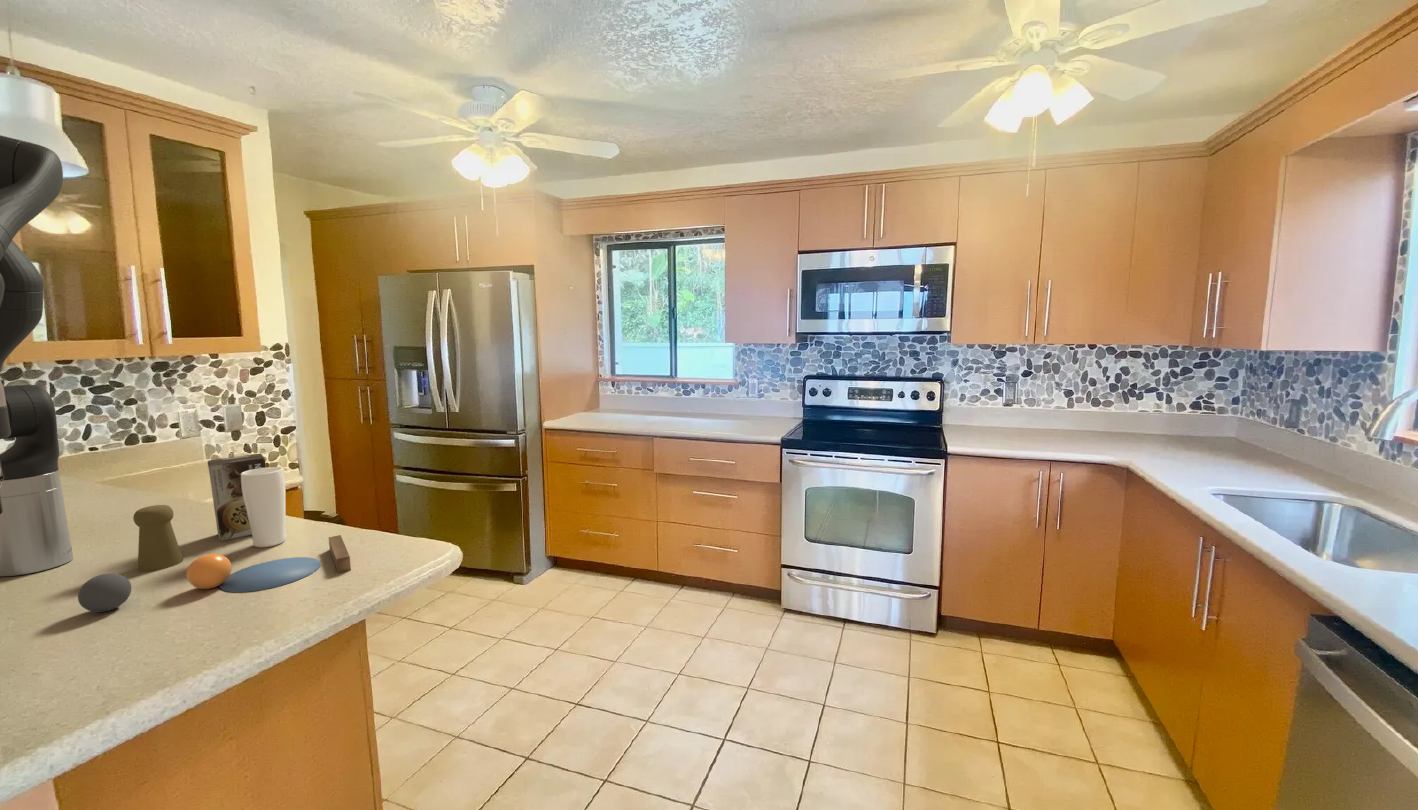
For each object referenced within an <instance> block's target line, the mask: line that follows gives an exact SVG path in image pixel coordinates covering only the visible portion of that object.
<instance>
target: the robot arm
mask: <svg viewBox="0 0 1418 810" xmlns="http://www.w3.org/2000/svg"><path fill="white" fill-rule="evenodd" d="M63 171H64V170H63V165H62V161H61V158H60V157H59V156H58V154H57V153H56V152H55V151H54V150H52V149H50V148H48V147H46V146H44V145H40V144H37V143H33V142H29V141H26V140H21V139H18V138H13V137H10V136H5V135H1V134H0V370H1V368H2V366H3V364H4V363H5V361H6V359H7V358H8V357H9V356H10V355H11V354H12V352H13V351H14V350H15V349H16V348H17V347H18V346H19V345H21V343H22V342H23V341H24V340H25V339H26V338H27V337H28V336H30V334H31V333H32V332H33V331H34V330H35V329H36V327H37V326H38V325H39V323H40V322H41V321H42V320H41V319H42V317H43V314H44V313H43V311H44V290H45V289H44V286H45V285H44V280H43V278H42V275H41V274H40V272H39V271H38V269H37V268H36V266H35V265H34V263H33V262H32V261H31V260H30V259H29V257H28V256H27V255H26V253H24V251H23V250H22V249H21V248H20V247H19V246H18V244H17V243H16V242H15V241H14V240H13V239H14V238H15V236H16V235H17V234H18V232H19V231H20V230H21V229H23V228H24V227H25V226H26V225H27V224H28V223H29V222H31V221H32V220H33V219H35V218H36V217H37V216H39V214H40V213H42V212H43V211H44V210H46V208H47V207H49V206H50V205H51V204H52V203H53V202H54V201H55V200H56V198H58V196H59V194H60V192H61V190H62V186H63V182H64V172H63ZM56 412H57V411H56V407H55V402H54V401H53V399H52V396H51V395H50V394H49V392H48V391H47V390H46V389H45V388H43V387H42V386H39V385H36V384H17V385H4V384H3V382H2V380H1V379H0V440H5V439H6V440H7V439H13V438H15V440H14V443H13V445H11V447H9V448H8V449H6V450H5V451H3V452H2V453H0V577H12V576H13V577H14V576H21V575H27V574H28V575H29V574H32V573H37V572H38V573H39V572H42V571H46V570H49V569H53V568H56V567H59V566H63V565H64V564H66V563H69V562H71V561H72V560H73V559H74V555H73V554H74V553H73V546H72V541H71V536H70V530H69V525H68V517H67V511H66V507H65V500H64V494H63V488H62V487H63V486H62V483H61V475H60V470H59V457H60V446H59V438H58V424H57V423H58V421H57V413H56Z"/></svg>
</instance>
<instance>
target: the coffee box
mask: <svg viewBox="0 0 1418 810" xmlns="http://www.w3.org/2000/svg"><path fill="white" fill-rule="evenodd" d="M207 466H208V472H209V480H210V486H211V487H210V488H211V489H210V490H211V493H212V501H213V508H214V509H213V510H214V515H215V522H216V530H217V535H218V539H219V541H220V542H223V541H228V540H232V539H237V538H241V537H246V536H250V535H251V536H252V533H251V528H250V524H249V520H248V516H247V511H246V507H245V503H244V499H243V494H242V487H241V473H242V472H245V471H248V470H253V469H258V468H267V464H266V459H265V457H264V456H263V454H262V453H253V454H247V455H246V454H245V455H239V456H231V457H225V458H218V459H217V458H216V459H210V460H207Z"/></svg>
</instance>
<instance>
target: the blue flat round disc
mask: <svg viewBox="0 0 1418 810" xmlns="http://www.w3.org/2000/svg"><path fill="white" fill-rule="evenodd" d="M320 567H321V561H320V560H319V559H317V558H314V557H309V556H307V557H305V556H298V557H297V556H296V557H295V556H294V557H286V558H278V559H274V560H269V561H264V562H261V563H257V564H253V565H250V566H247V567H244V568H241V569H238V570H237V571H235V572H234V571H233V573H232V572H231V574H230V576H229V577H228V579H227V580H226V581H225V582H224V583H222V584H221V585H219V589H220V590H222V591H225V592H228V593H229V592H230V593H249V592H258V591H264V590H269V589H273V588H278V587H282V586H285V585H288V584H291V583H294V582H297V581H300V580H302V579H304V578H306V577H309V576H310V575H313V572H314V573H315V572H316V571H318V570H319V568H320ZM317 569H318V570H317Z"/></svg>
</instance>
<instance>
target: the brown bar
mask: <svg viewBox="0 0 1418 810" xmlns="http://www.w3.org/2000/svg"><path fill="white" fill-rule="evenodd" d="M328 545H329V552H330V554H331V557H332V560H333V563H334V567H335V569H337V570H336V571H337V573H338V574H339V573H344V572H347V571H351V570H352V569H351V568H352V567H351V559H350V556H351V555H350V554H349V551H348V549H347V546H346V544H345V542H344V540H343V537H342V535H341V534H339V535H334V536H328Z"/></svg>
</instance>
